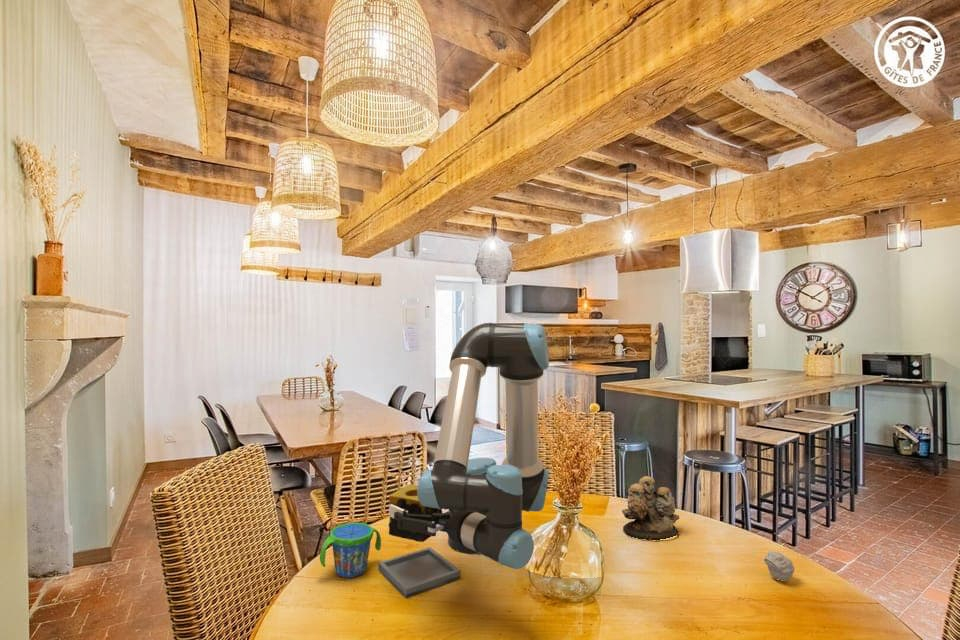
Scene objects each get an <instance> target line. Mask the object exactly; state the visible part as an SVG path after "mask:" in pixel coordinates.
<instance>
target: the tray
mask: <svg viewBox="0 0 960 640" xmlns="http://www.w3.org/2000/svg"><path fill="white" fill-rule="evenodd" d="M377 569H378V570H379V571H380V572H381V573H382V574H383V575H382V576H383V577H384V578H385V579H386V580H387V581H388V582H389V583H390V584H391V585H392V586H393V588H395V589H396V590H397V591H398V592H399V593H400V594H401V595H402V597H404V598H405V599H407V598H410V597H413V596H416V595H420V594H422V593H424V592H427V591H431V590H433V589H435V588H439V587H441V586H445V585H447V584H450V583H452V582H456V581H458V580H461V579H462V578H461V574H462V573H461V571H462V570H461V569H460V568H458V567H457V566H455V565H454V564H453V563H452V562H450V561H449V560H447V559H446V558H445V557H444V556H442V555H441V554H440V553H438V552H437V551H436V550H435V549H433V548H431V547H430V546H429V547H426V548H422V549H420V550H416V551H412V552H410V553H406V554H403V555H400V556H396V557H393V558H392V557H391V558H388V559H386V560H382V561H378V566H377ZM378 570H377V571H378ZM379 571H378V572H379ZM380 572H379V573H380ZM381 573H380V574H381Z"/></svg>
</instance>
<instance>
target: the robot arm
mask: <svg viewBox="0 0 960 640" xmlns="http://www.w3.org/2000/svg"><path fill="white" fill-rule="evenodd" d="M448 366H449V371H450V372H451V375H450V381H449V384H448V385H449V387H448V390H447V396H446V400H445V404H444V409H443V410H444V411H443V415H442V420H441V425H440V429H439V430H440V431H439V435H438V440H437V445H436V450H435V455H434V460H433V466H432V469H429V470H426V469H425V470H424V471H421V474H420V477H419V478H418V481H417V482H418V484H417V485H418V490H417V494H418V500H419V502H420V504H421V505H423V506H426V507H431V508H438V509H442V510H445V511H446V510H448V511H446V512H442V513H443V514H441V513H433V514H432V515H423V514H408V511H406V510H404V509H401V508H399V507H397V506H395V505H393V504H390V505H389V504H388V510H389V511H388V517H389V518H390V517H392V518H394V519H395V520H397V521H398V529H403V530H408V531H414V532H419V533H424V534H428V535H430V536H431V537H436V536H437V532H439V531H440V532H442V533H443V532H444V533H447V537H448V539H447V543H448V546H449V547H451V548H452V549H453V550H455V551H458V552H461V553H466V554H480V555H483V556H484V557H486V558H488V559H490V560H493V561H495V562H497V563H499V564H500V565H502V566H505V567H507V568H510V569H514V570H519V569H520V570H521V569H523V568H524V567H526V566H527V565H528V563H529V562H530V560H531V559H532V557H533V554H534V549H535V548H534V547H535V542H534V539H533V537H532V534H531V533H530V532H529V531H527V530H525V529H523V520H522V519H523V511H524V512H525V511H526V512H528V513H529V512H541V511H542V510H543V509H544V508H545V502H546V496H547V490H548V488H547V487H548V482H549V472H550V471H549V469H547V468H546V467H544V463H543V461H542V459H540V458H539V421H538V418H539V417H538V416H539V409H538V407H539V404H538V403H539V402H538V401H539V398H538V397H539V396H538V395H539V391H538V390H539V389H538V388H539V386H538V383H539V382H538V381H539V380H540V379H541V378H542V377H543V376H544V371H545V370H547V369H548V368H549V367H550V357H549V347H548V338H547V333H546V329H545V328H544V326H543V325H541V324H538V323H536V324H535V323H534V324H533V323H528V322H525V323H524V322H522V323H521V322H518V323H517V322H515V323H513V322H512V323H511V322H508V323H507V322H505V323H502V322H500V323H499V322H497V323H494V322H485V323H481V324H478V325H476V326H475V327H472V328H471V329H470V330H469V331H467V332H466V333H465V334H464V335H463V336H462V337H461V338H460V339H459V341H458V342H457V344H456V345H455V347H454V349H453V352H452V353H451V356H450V361H449V365H448ZM490 367H491V368H499V375H500V377H501V378H502V379H503V380H505V418H506V419H505V422H506V457H505V458H504V459H502V463H501V464H497V462H496V460H495V459H494V458H493V457H491V458H490V457H475V458H470V454H471V453H470V452H471V451H470V450H471V446H472V439H473V434H474V427H475V421H476V413H477V409H478V408H477V407H478V401H479V393H480V386H481V382H482V378H483V377H484V376H485V375H486V373H487V368H490ZM435 517H437V525H436V524H435Z"/></svg>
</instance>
